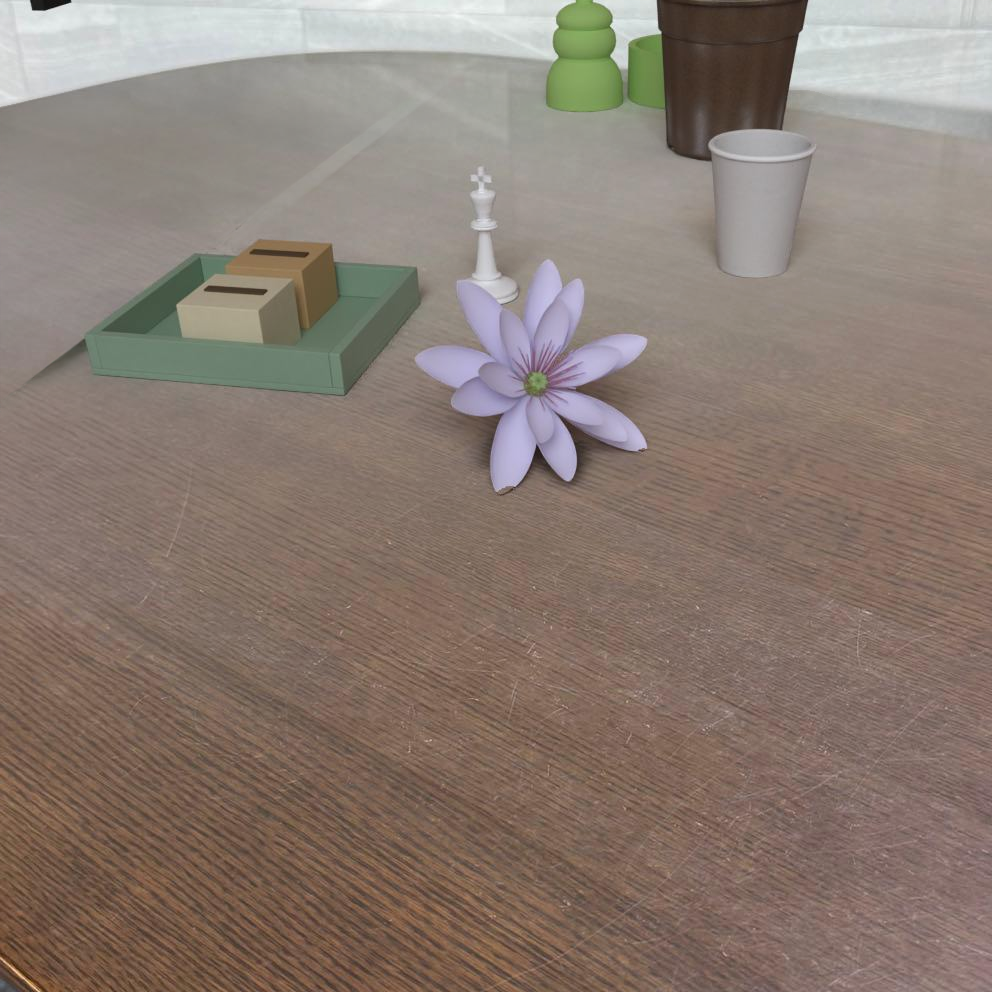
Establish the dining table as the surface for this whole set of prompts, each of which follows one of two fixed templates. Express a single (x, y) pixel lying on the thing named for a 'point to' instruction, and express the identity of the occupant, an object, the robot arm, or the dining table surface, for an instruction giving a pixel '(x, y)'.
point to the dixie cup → (758, 198)
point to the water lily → (534, 376)
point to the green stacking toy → (600, 63)
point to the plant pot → (725, 67)
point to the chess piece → (488, 243)
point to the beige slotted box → (241, 310)
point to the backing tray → (303, 367)
